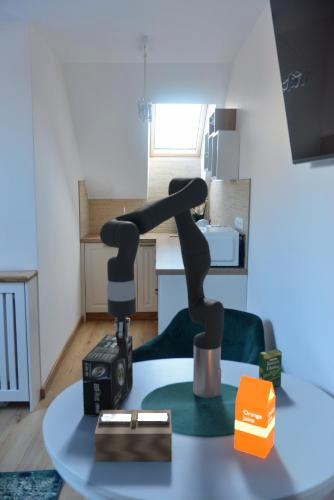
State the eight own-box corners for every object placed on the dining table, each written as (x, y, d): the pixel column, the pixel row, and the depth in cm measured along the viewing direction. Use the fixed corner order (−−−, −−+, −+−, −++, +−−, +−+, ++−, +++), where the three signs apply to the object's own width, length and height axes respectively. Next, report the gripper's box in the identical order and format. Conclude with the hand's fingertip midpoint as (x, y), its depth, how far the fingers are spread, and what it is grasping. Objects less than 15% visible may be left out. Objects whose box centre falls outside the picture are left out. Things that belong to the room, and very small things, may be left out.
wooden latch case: (170, 435, 128) (170, 404, 127) (171, 461, 116) (171, 427, 115) (101, 435, 128) (100, 404, 126) (95, 462, 116) (94, 428, 114)
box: (113, 419, 137) (112, 361, 134) (82, 415, 139) (81, 358, 136) (133, 385, 159) (133, 335, 156) (107, 383, 161) (106, 333, 158)
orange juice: (243, 435, 128) (246, 369, 125) (273, 444, 124) (276, 376, 121) (233, 449, 122) (235, 380, 119) (265, 459, 117) (267, 388, 114)
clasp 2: (169, 416, 123) (169, 413, 123) (169, 424, 119) (169, 420, 119) (138, 416, 123) (138, 412, 123) (137, 424, 119) (137, 420, 119)
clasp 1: (98, 425, 119) (98, 421, 118) (100, 417, 123) (100, 413, 122) (130, 425, 119) (130, 421, 119) (131, 417, 123) (131, 413, 123)
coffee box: (262, 390, 156) (263, 354, 154) (257, 386, 158) (258, 351, 156) (281, 386, 159) (282, 351, 157) (276, 383, 161) (278, 348, 159)
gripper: (134, 302, 111) (135, 367, 114) (136, 289, 124) (138, 348, 127) (104, 303, 111) (106, 368, 114) (110, 289, 124) (111, 348, 127)
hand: (123, 357), depth 121 cm, fingers closed
